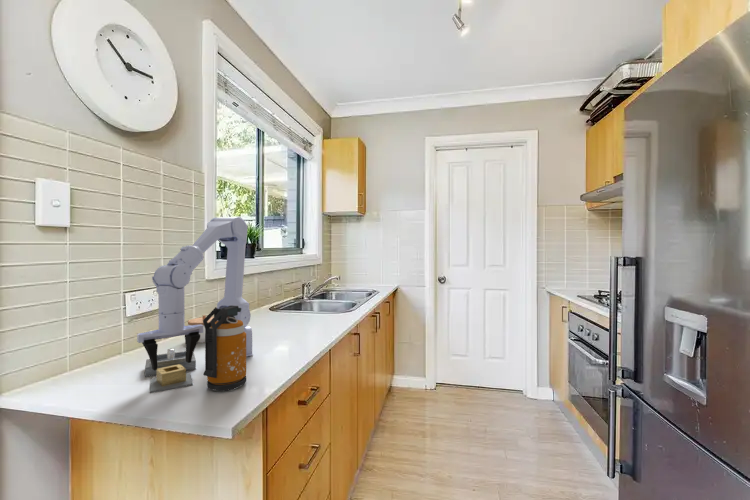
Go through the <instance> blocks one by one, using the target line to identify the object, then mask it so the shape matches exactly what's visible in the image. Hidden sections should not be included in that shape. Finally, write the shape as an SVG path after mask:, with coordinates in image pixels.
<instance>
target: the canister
mask: <svg viewBox="0 0 750 500" xmlns="http://www.w3.org/2000/svg"><path fill="white" fill-rule="evenodd" d="M238 312H241V308H238V306H228V307H224V308H220V309H218V308H217V306H216V307H214V308H213V310H211V311H210V312H209V313H208V315H206V318H205V319H204V320H203V323H204V327H205V342H204V343H205V345H204V346H205V352H204V354H205V355H204V356H205V357H204V358H205V359H204V361H205V362H204V363H205V364H204V367H205V370H204V372H203V376H205V377H206V379H207V382H206V387H207V388H208V389H209V390H211V391H212V390H213V391H217V392H227V391H232V390H235V389H238V388H241V387H242V386H243V385H244V384H246V383H247V357H246V333H245V332H244V324H243V322H242V321H241V320H237V319H235V317H234V316H236V315H238ZM211 317H214V318H213V319H212V320H211V321H210V322H209V323H207V321H208V320H209V319H210V318H211ZM217 320H218V321H217Z"/></svg>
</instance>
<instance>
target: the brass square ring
mask: <svg viewBox="0 0 750 500" xmlns="http://www.w3.org/2000/svg"><path fill="white" fill-rule="evenodd" d="M186 373H187V371H186V369H185V368H184V367H183V366H182V365H180V364H178V365H173V366H168V367H163V368H158V369H157V372H156V377H155V378H156V381H157V382H158V383H159V384H160V385H161V386H162V387H163V386H167V385H171V384H175V383H179V382H183V381H186Z"/></svg>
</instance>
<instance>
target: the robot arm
mask: <svg viewBox="0 0 750 500" xmlns="http://www.w3.org/2000/svg"><path fill="white" fill-rule="evenodd" d="M248 227H249V226H248V224H247V223H246V221H245V220H244V218H243V217H241V216H236V217H213V218H211V219H210V220H209V221H208V222H207V224H206V229H204V231H203V232H202V234H200V236H199V237H198V238H197V239H196V241H194V243H193V244H191V245H188V244H187V245H185V246H184V245H183V246H182V247H181V248H179V249H180V251H179V252H178V253H177V254H175V256H174V257H173V258H171V259H169V260H168V262H167V264H166V265H165V264H164V265H161V266H159V267H158V268H156V269H155V271H154V273H153V276H152V277H151V280H152V283H153V284H154V287H155V288H156V293H157V294H158V329H154V330H151V331H150V330H149V331H146V332H145V331H144V332H140V333H137V334H136V342H137V343H138V344H142V345H143V347H144V348H145V351H146V354H147V355H148V357H149V359H150V361H151V365H152V369H153V370H157V355H158V347H159V345H158V343H157V340H163V339H169V338H174V337H181V336H184V340H185V351H186V362H188V363H191V359H192V355H193V353H194V352H195V349H196V347H197V344H199V343H198V341H199V339H200V334H199V333H203V325H201V324H200V325H190V326H188V325H185V318H186V317H185V316H186V314H185V310H186V309H185V287H186V286H188V284H189V283H190V280H191V276H192V274H193V271H194V270H195V269H196V268H197V267H198V266H199V265H200V263H202V262H203V260H204V253H205V252H206V251H208V249H210V247H212V246H213V245H214V244H215V243H216V242H218V241H219V242H220V243H221V244H223V245H224V246H225V247H226V248H227V252H226V254H227V255H226V266H225V267H226V268H225V269H226V270H225V280H224V294H223V296H224V297H223V298H222V299H220V300H219V301H218V302H217V304H216V308H218V309H220V308H224V307H228V306H238V308H241V312H238V315H236V316H234V317H235V319H237V320H241V321H242V322H243V324H244V332H245V333H246V358H247V357H251V356H253V355H254V354H253V330H252V326H248V325H249V323H250V321H251V311H250V303H249V302H248V301H247V300H246V299H245V298H243V290H244V276H245V263H246V262H245V260H246V259H245V258H246V246H247V245H246V244H247V240H248ZM217 321H218V320H217Z"/></svg>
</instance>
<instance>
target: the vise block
mask: <svg viewBox="0 0 750 500" xmlns="http://www.w3.org/2000/svg"><path fill="white" fill-rule="evenodd" d="M166 352H167V353H161V354H157V369H158V368H163V367H168V366H173V365H178V364H180V365H182V366H183V367H184V368H185V369H186V372H187V371H193V370H196V369H197V368H196V367H197V365H196V364H197V361H196V357H195V353H194V352H193V355H192V359H191V363H188V362H186V350H183V351H182V350H181V351H175V348H168V349H167V351H166ZM156 372H157V370H153V369H152V365H151V361H150V358H149V359H146V361H145V366H144V378H149V377H155V376H156Z"/></svg>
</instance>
